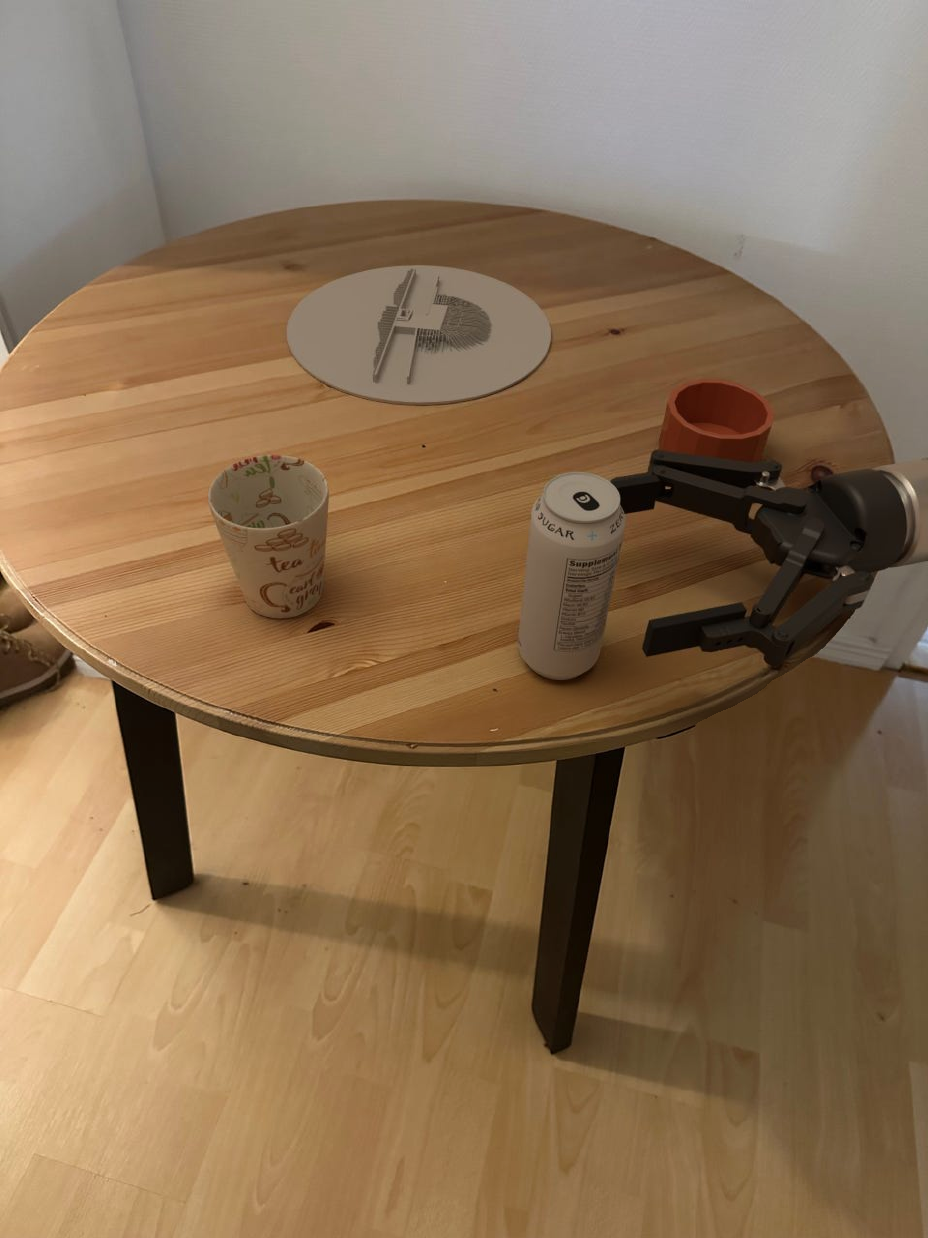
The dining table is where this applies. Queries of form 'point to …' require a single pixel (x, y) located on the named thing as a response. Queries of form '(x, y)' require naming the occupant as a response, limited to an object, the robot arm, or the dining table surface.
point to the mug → (273, 531)
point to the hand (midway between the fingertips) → (607, 567)
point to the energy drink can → (570, 574)
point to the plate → (418, 335)
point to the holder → (716, 421)
